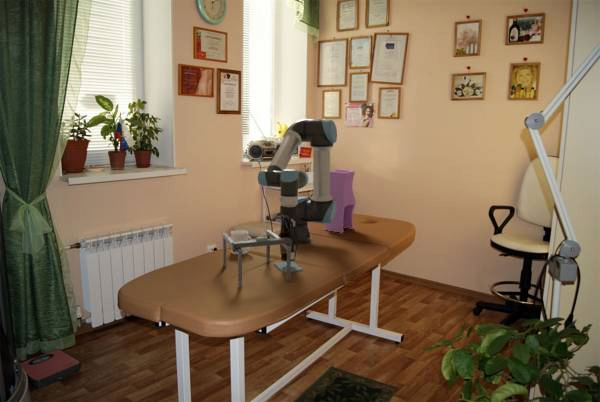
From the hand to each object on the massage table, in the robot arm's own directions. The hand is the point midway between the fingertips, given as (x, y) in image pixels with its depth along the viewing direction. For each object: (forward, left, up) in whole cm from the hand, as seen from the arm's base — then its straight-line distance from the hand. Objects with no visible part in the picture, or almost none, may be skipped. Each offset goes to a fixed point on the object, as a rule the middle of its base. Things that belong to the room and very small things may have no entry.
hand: (288, 256), depth 212 cm
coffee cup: (0, 0, -2) cm, 2 cm away
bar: (+13, -16, +8) cm, 22 cm away
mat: (0, 0, -5) cm, 5 cm away
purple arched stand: (-58, +53, -5) cm, 79 cm away
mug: (-28, -13, -5) cm, 31 cm away
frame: (+3, -16, -5) cm, 17 cm away
